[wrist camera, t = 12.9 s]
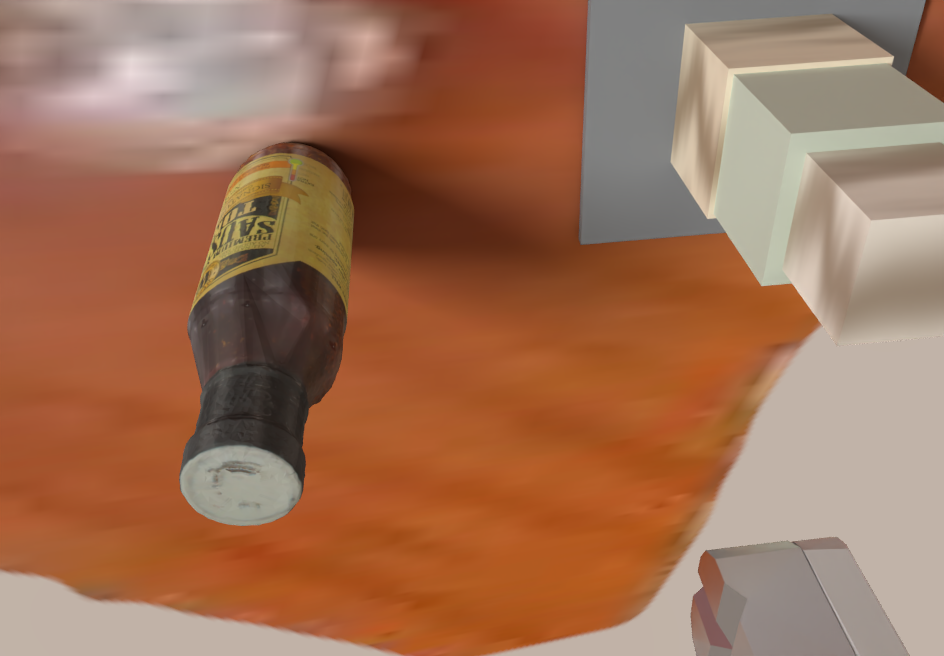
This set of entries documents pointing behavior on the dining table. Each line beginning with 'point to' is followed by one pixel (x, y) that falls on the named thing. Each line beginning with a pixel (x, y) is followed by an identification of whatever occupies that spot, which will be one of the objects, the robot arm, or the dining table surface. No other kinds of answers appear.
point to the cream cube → (871, 242)
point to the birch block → (738, 52)
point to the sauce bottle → (267, 331)
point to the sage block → (806, 144)
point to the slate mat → (675, 102)
